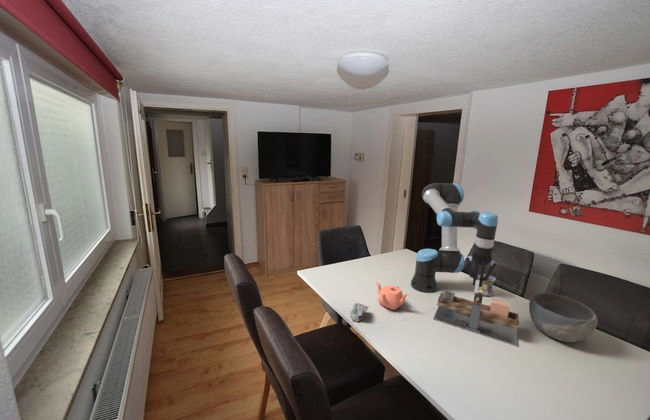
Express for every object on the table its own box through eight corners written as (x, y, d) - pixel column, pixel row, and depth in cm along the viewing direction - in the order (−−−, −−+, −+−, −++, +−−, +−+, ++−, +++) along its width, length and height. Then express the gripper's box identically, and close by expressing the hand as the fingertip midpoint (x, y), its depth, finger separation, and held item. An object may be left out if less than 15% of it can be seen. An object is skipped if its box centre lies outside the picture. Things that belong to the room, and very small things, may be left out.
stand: (433, 319, 141) (436, 296, 138) (440, 303, 156) (442, 282, 153) (517, 346, 123) (522, 320, 120) (516, 325, 138) (520, 301, 135)
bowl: (575, 359, 117) (583, 326, 113) (514, 326, 138) (519, 298, 135) (602, 342, 128) (610, 312, 125) (541, 314, 149) (546, 287, 146)
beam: (436, 309, 142) (437, 297, 141) (440, 299, 153) (442, 287, 151) (516, 335, 125) (519, 321, 123) (516, 321, 135) (518, 308, 134)
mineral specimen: (353, 324, 144) (370, 326, 138) (344, 319, 139) (362, 321, 133) (356, 305, 149) (373, 306, 143) (348, 299, 144) (366, 300, 138)
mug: (495, 294, 168) (498, 277, 166) (489, 299, 162) (492, 282, 160) (474, 286, 177) (477, 270, 175) (468, 291, 171) (470, 274, 169)
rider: (489, 315, 133) (491, 302, 132) (489, 311, 137) (492, 298, 136) (506, 320, 130) (509, 307, 128) (506, 316, 134) (509, 302, 132)
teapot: (407, 313, 146) (409, 293, 144) (380, 312, 146) (381, 293, 143) (399, 298, 160) (400, 280, 158) (374, 298, 160) (375, 280, 157)
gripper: (467, 245, 132) (460, 291, 138) (499, 251, 125) (490, 299, 131) (469, 240, 138) (462, 285, 144) (500, 246, 132) (491, 292, 137)
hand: (475, 291), depth 137 cm, fingers closed
